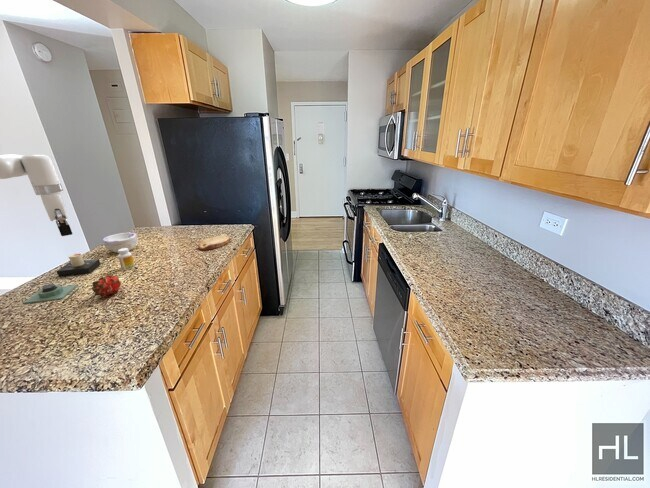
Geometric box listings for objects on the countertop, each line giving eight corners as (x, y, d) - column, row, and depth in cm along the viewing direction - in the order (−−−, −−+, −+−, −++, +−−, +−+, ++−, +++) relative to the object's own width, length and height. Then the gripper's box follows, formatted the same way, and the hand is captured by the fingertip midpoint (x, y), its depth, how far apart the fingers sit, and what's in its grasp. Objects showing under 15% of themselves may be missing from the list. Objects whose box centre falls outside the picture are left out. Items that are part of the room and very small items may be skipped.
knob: (70, 267, 120) (65, 257, 118) (75, 263, 124) (71, 253, 122) (81, 266, 121) (77, 255, 119) (86, 262, 125) (82, 252, 123)
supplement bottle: (137, 265, 129) (132, 247, 126) (131, 270, 124) (125, 251, 121) (126, 265, 129) (120, 247, 125) (119, 270, 124) (113, 251, 120)
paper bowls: (146, 244, 154) (142, 232, 151) (125, 255, 140) (121, 241, 137) (122, 244, 155) (118, 231, 152) (99, 254, 141) (94, 240, 138)
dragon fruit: (98, 306, 100) (118, 293, 111) (115, 292, 99) (133, 281, 111) (79, 290, 98) (102, 279, 109) (96, 276, 97) (117, 266, 109)
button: (41, 293, 99) (39, 289, 98) (47, 288, 102) (45, 284, 102) (52, 291, 100) (50, 287, 99) (58, 287, 103) (57, 283, 102)
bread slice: (230, 237, 166) (229, 231, 165) (231, 247, 151) (231, 241, 149) (199, 240, 160) (198, 235, 159) (198, 251, 144) (196, 245, 143)
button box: (25, 307, 96) (20, 298, 95) (44, 293, 105) (39, 285, 104) (64, 302, 99) (60, 293, 98) (79, 289, 108) (75, 280, 107)
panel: (58, 277, 118) (56, 270, 117) (72, 267, 127) (69, 261, 126) (90, 273, 121) (87, 267, 120) (100, 264, 130) (98, 258, 129)
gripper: (33, 188, 100) (51, 230, 107) (34, 193, 89) (54, 240, 96) (60, 185, 105) (75, 225, 112) (64, 190, 94) (81, 235, 101)
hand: (65, 232), depth 104 cm, fingers open, 9 cm apart
